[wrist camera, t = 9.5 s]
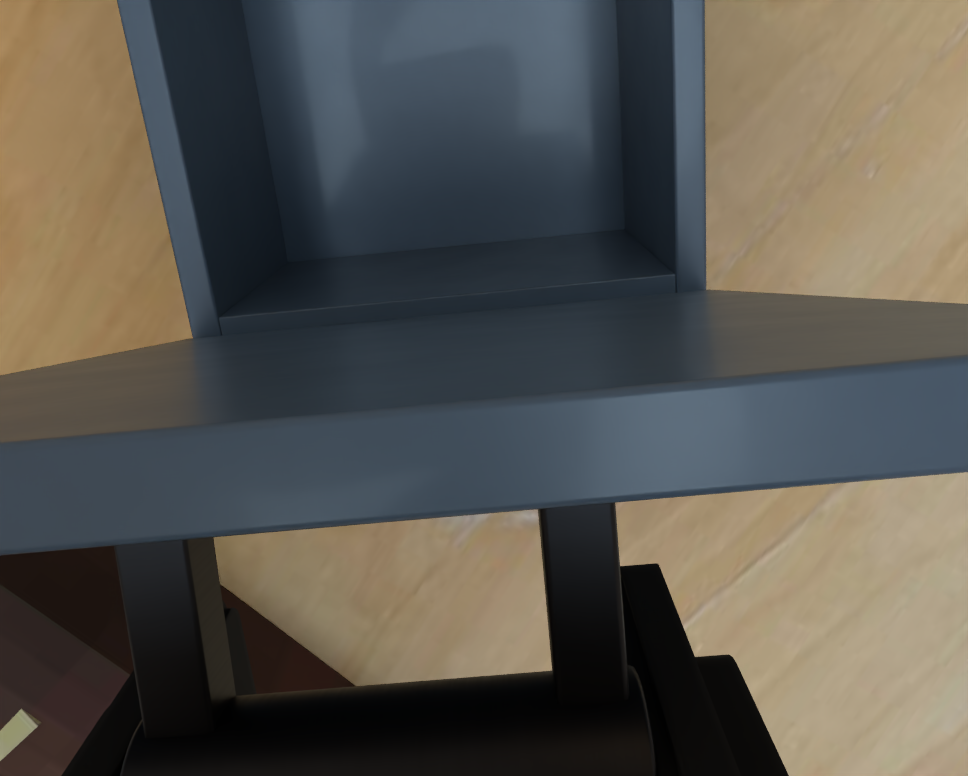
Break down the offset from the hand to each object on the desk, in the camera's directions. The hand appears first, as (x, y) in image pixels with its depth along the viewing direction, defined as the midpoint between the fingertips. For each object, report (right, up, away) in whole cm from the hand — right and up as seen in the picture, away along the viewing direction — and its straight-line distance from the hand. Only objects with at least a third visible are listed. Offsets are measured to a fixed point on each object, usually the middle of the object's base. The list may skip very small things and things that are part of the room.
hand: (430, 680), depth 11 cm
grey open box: (-1, +16, +16) cm, 22 cm away
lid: (0, +5, +2) cm, 5 cm away
